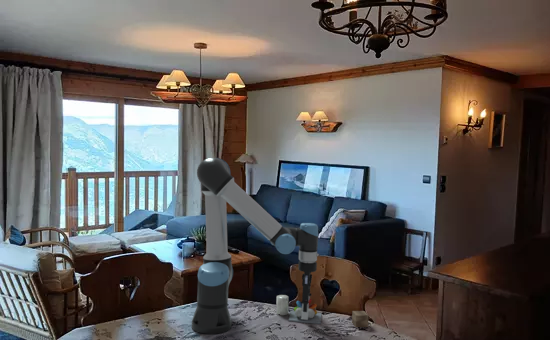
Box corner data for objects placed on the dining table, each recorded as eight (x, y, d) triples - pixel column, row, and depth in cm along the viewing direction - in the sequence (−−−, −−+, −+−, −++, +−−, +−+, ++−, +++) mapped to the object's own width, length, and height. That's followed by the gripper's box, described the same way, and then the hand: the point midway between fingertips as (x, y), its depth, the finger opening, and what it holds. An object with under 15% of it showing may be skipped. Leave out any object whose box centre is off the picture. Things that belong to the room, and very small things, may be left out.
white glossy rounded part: (276, 315, 183) (276, 298, 183) (276, 311, 188) (276, 295, 188) (288, 315, 183) (288, 298, 183) (287, 311, 188) (288, 295, 188)
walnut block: (355, 327, 173) (356, 315, 172) (351, 323, 178) (352, 311, 177) (367, 327, 173) (368, 315, 173) (363, 323, 178) (364, 310, 178)
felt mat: (288, 321, 176) (288, 319, 176) (291, 312, 187) (291, 310, 187) (320, 324, 175) (320, 322, 175) (321, 314, 186) (321, 313, 186)
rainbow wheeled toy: (316, 320, 176) (316, 302, 176) (292, 318, 178) (293, 300, 178) (317, 313, 184) (318, 296, 184) (294, 311, 186) (295, 294, 186)
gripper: (316, 267, 170) (313, 325, 170) (317, 256, 191) (315, 307, 191) (296, 266, 171) (294, 323, 171) (300, 254, 192) (298, 306, 192)
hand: (305, 315), depth 181 cm, fingers closed on rainbow wheeled toy, 8 cm apart
